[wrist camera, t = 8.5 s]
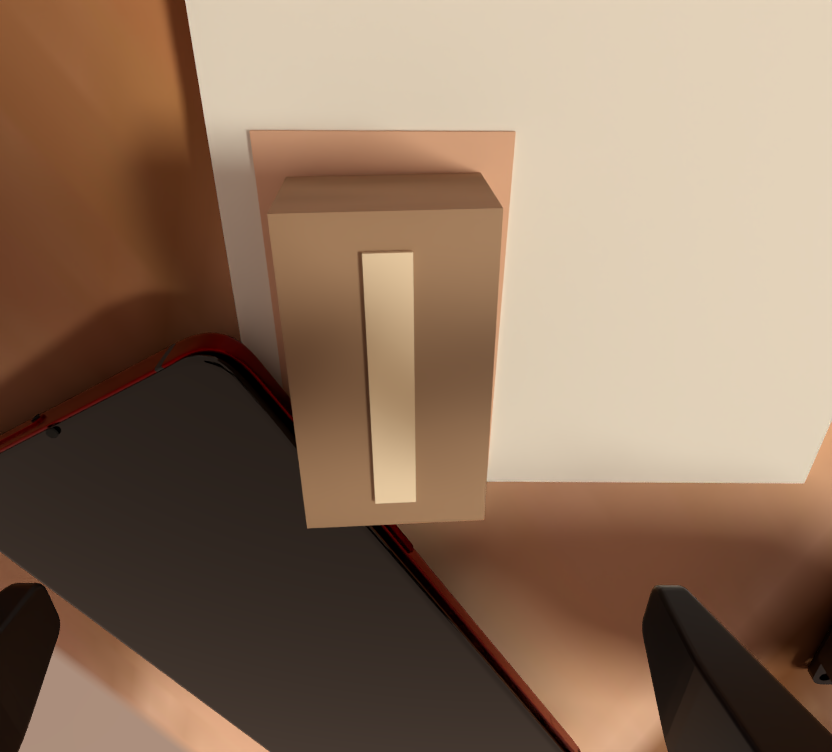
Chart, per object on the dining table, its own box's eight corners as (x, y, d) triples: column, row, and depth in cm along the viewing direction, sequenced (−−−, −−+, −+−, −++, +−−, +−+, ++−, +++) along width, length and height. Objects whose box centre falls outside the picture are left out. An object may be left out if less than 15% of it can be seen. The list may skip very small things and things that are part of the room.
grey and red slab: (352, 823, 31) (-98, 496, 19) (356, 788, 32) (-63, 460, 20) (594, 781, 27) (214, 333, 15) (588, 743, 28) (233, 303, 16)
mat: (1014, -53, 13) (1043, -54, 12) (794, 470, 21) (805, 485, 20) (185, -56, 13) (174, -58, 12) (267, 467, 21) (263, 482, 20)
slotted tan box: (469, 449, 19) (484, 522, 16) (316, 455, 19) (306, 531, 16) (480, 172, 15) (504, 209, 12) (285, 177, 15) (266, 215, 12)
